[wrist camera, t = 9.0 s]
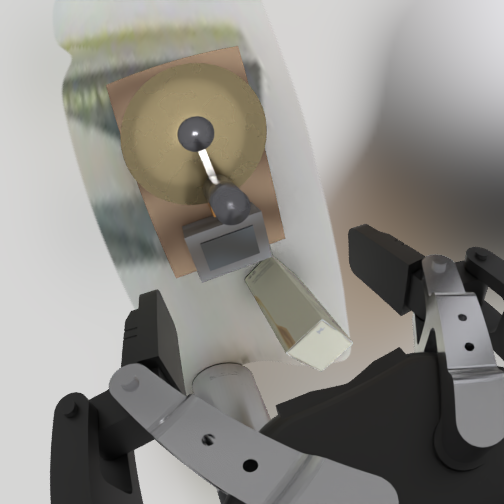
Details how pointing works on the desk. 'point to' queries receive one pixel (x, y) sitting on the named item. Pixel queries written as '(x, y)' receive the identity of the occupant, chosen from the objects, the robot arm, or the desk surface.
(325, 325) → the skincare box
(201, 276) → the tan piece
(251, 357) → the desk surface
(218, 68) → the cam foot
